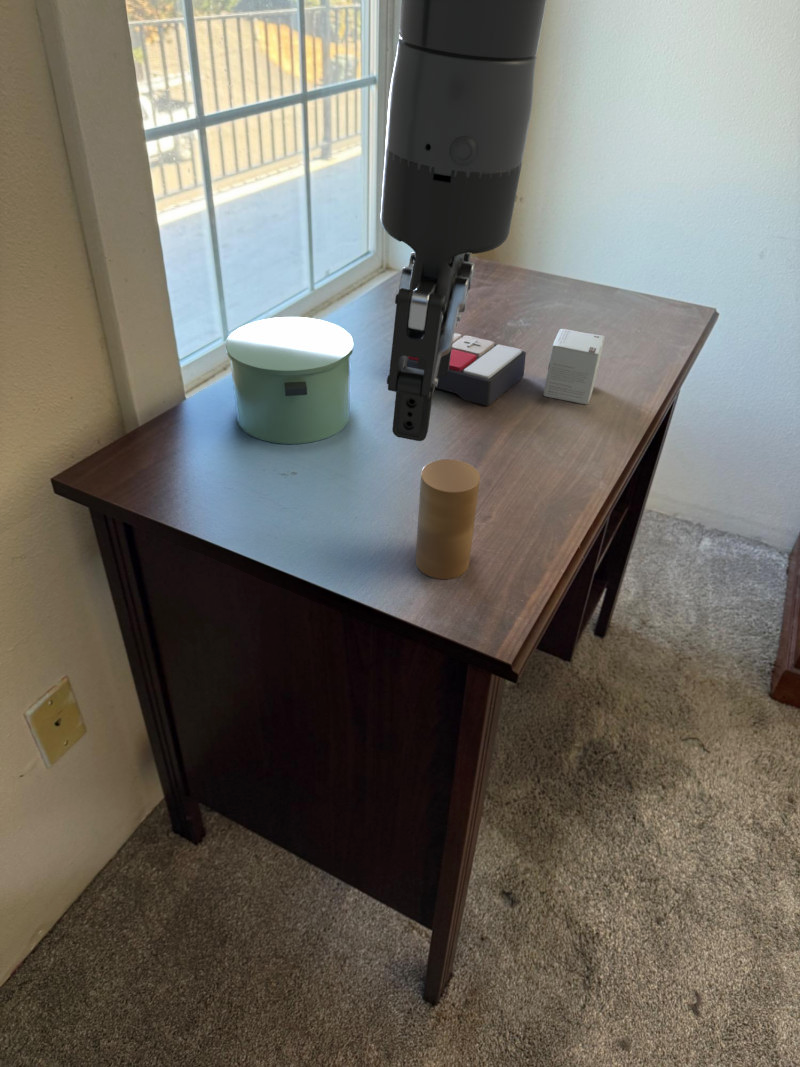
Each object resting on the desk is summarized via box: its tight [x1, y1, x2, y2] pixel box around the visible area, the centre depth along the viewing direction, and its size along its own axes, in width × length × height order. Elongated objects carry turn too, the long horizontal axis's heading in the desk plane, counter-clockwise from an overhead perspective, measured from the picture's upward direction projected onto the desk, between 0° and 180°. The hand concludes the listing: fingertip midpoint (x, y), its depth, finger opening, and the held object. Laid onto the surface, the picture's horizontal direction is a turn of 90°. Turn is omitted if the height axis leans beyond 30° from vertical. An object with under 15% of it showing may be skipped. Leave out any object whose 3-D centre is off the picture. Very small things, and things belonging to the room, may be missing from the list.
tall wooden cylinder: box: [414, 458, 481, 580], centre depth 69 cm, size 5×5×10 cm
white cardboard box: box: [543, 328, 605, 405], centre depth 98 cm, size 6×6×7 cm
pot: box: [224, 316, 355, 445], centre depth 90 cm, size 15×17×10 cm
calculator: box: [407, 332, 527, 407], centre depth 101 cm, size 11×4×15 cm
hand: (421, 403), depth 51 cm, fingers open, 8 cm apart
